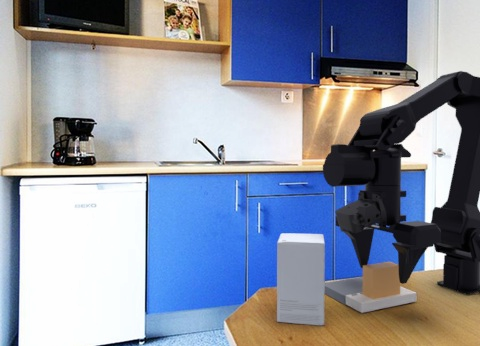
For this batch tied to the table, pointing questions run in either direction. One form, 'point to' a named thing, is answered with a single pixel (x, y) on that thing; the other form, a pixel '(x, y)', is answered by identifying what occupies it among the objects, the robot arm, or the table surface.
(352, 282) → the board
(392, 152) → the robot arm
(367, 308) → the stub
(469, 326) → the table surface
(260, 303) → the table surface
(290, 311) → the supplement box
